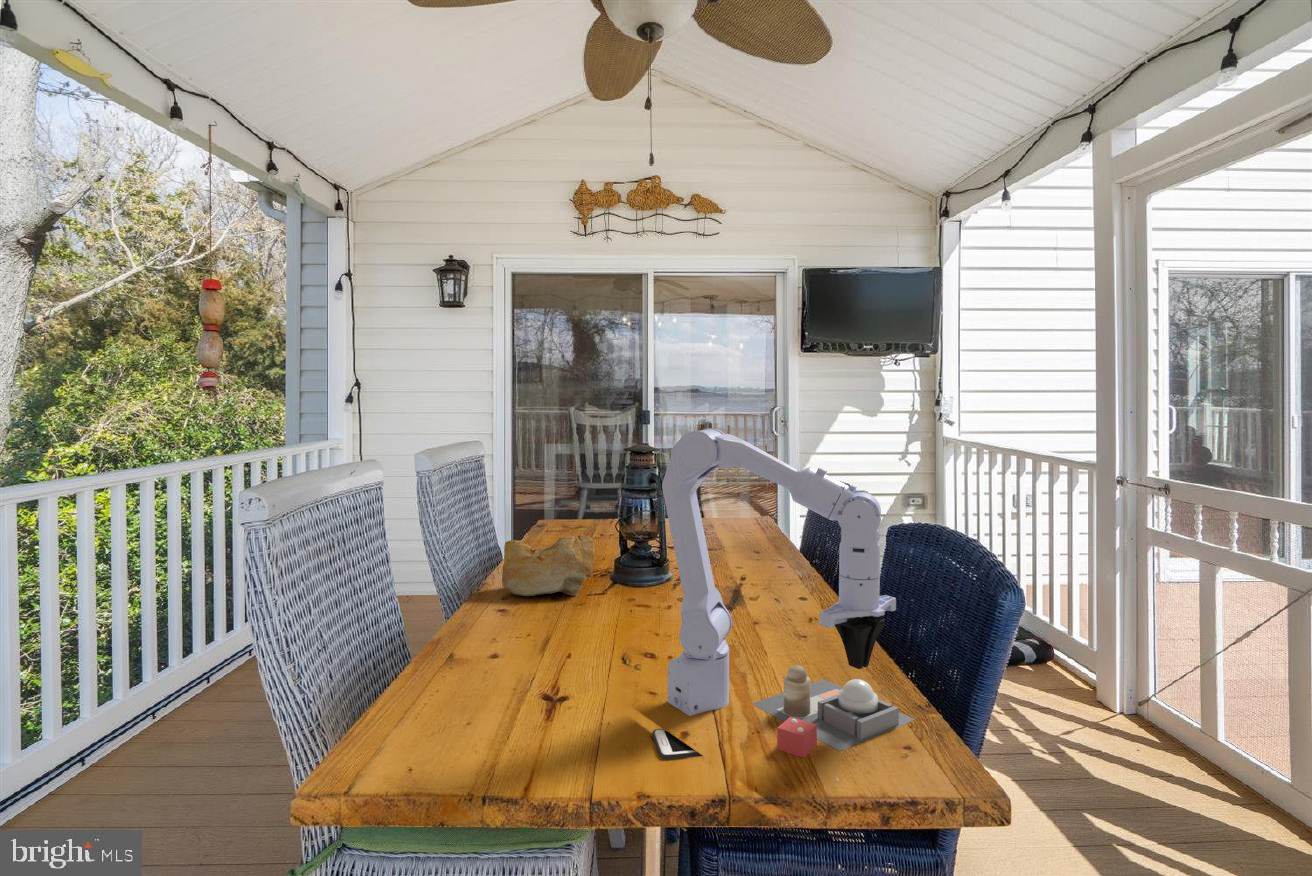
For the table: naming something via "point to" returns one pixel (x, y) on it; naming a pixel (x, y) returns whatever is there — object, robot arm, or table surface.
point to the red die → (797, 737)
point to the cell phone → (672, 746)
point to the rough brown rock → (548, 566)
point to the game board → (838, 716)
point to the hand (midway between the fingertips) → (858, 665)
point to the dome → (858, 697)
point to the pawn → (797, 692)
